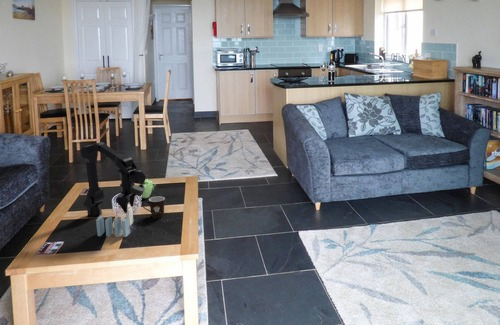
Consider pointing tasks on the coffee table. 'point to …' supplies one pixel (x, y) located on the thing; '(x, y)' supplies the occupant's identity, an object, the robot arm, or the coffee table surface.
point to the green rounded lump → (147, 188)
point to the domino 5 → (130, 215)
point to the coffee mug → (156, 206)
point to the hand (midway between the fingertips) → (129, 209)
